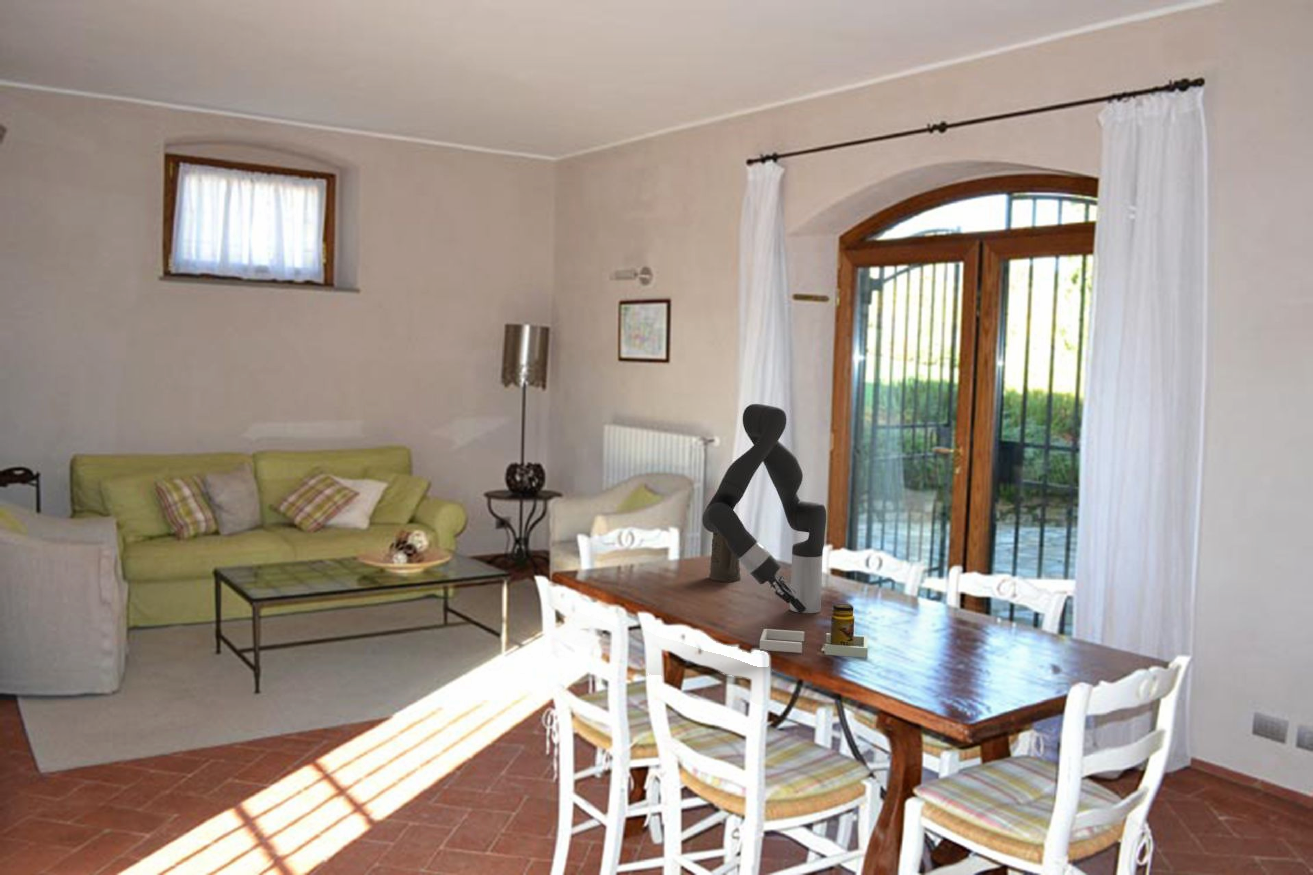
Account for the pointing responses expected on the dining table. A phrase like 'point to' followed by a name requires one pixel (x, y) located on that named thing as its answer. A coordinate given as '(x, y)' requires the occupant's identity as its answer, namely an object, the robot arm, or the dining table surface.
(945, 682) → the dining table surface
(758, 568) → the robot arm
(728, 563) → the beer stein
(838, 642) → the condiment
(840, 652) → the white shallow tray
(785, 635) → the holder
